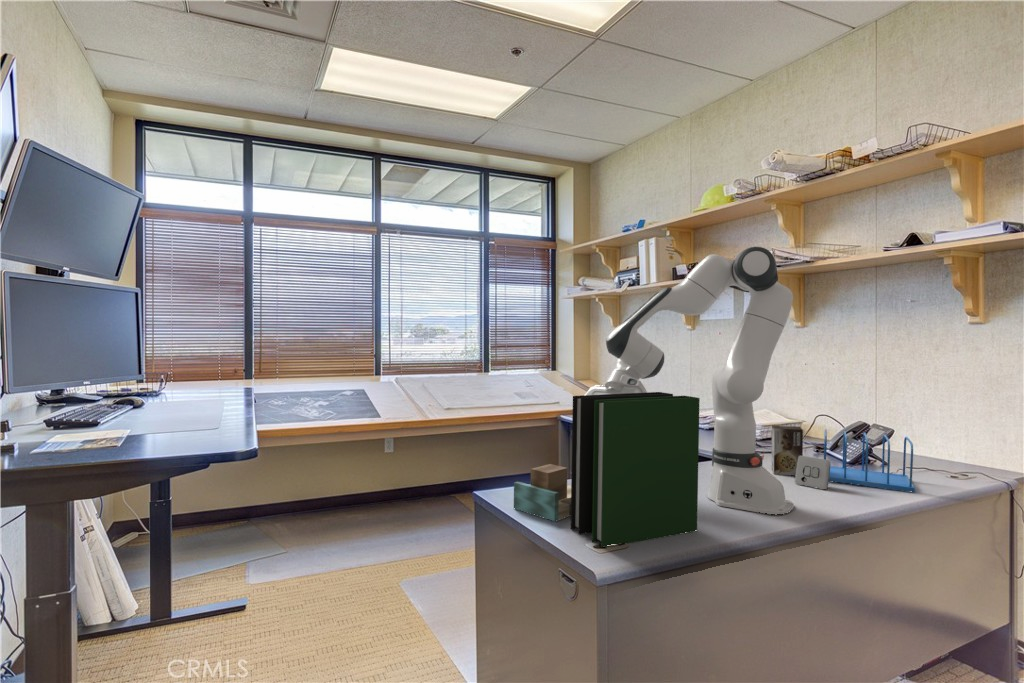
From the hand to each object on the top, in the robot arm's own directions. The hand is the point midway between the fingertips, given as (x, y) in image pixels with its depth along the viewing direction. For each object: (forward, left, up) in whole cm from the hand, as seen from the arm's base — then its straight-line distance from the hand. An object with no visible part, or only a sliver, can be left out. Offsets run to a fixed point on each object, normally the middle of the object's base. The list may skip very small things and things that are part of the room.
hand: (602, 422), depth 161 cm
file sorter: (-53, -75, -21) cm, 94 cm away
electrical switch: (-42, -55, -21) cm, 73 cm away
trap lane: (+1, +20, -21) cm, 29 cm away
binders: (-23, +20, -21) cm, 37 cm away
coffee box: (-31, -66, -21) cm, 76 cm away
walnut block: (+1, +24, -18) cm, 30 cm away
